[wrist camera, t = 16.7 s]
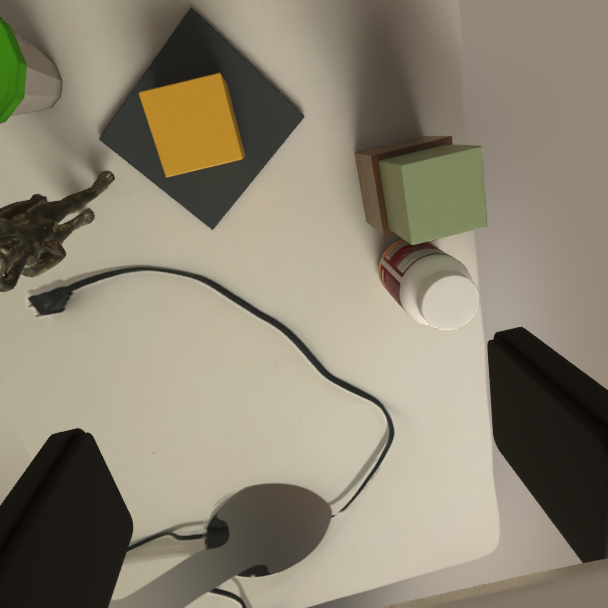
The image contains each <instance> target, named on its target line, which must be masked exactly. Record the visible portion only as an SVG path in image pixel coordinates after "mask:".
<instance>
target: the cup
mask: <svg viewBox="0 0 608 608" xmlns="http://www.w3.org/2000/svg"><path fill="white" fill-rule="evenodd" d="M61 89H62V79H61V77H60V74H59V72H58V69H57V67H56V65H55V64H54V63H53V62H52V61H51V60H50V59H49V58H48V57H47V56H46V55H45V54H44V53H42V52H41V51H40V50H38V49H37V48H36V47H34V46H33V45H32V44H30V43H29V42H28V41H26V40H25V39H23V38H22V37H21V36H19V35H18V34H17V33H15V32H14V31H13V30H12V28H11V27H10V26H9V25H8V24H7V23H6V22H5V21H4V20H3V19H2V18H1V17H0V123H3V122H6V120H7V119H8V118H9V117H10V116H14V115H19V114H24V113H29V112H35V111H39V110H43V109H47V108H51V107H52V106H53V105H54V104H55V103H56V102H57V100H58V99H59V98H60V97H61Z"/></svg>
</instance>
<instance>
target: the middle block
mask: <svg viewBox="0 0 608 608" xmlns="http://www.w3.org/2000/svg"><path fill="white" fill-rule="evenodd" d="M482 158H483V157H482V146H470V145H442V146H438V147H434V148H430V149H425V150H421V151H417V152H413V153H409V154H405V155H401V156H396V157H392V158H388V159H384V160H380V161H379V168H380V175H381V181H382V188H383V194H384V201H385V207H386V214H387V220H388V227H389V229H390V230H391V231H393V232H394V233H396V234H397V235H398V236H400V237H401V238H402V239H404V240H405V241H407V242H408V243H409V244H411V245H415V244H419V243H423V242H427V241H431V240H435V239H440V238H444V237H448V236H452V235H456V234H460V233H464V232H468V231H473V230H477V229H480V228H485V227H487V214H486V200H485V185H484V173H483V172H484V171H483V159H482Z"/></svg>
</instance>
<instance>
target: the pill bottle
mask: <svg viewBox="0 0 608 608" xmlns="http://www.w3.org/2000/svg"><path fill="white" fill-rule="evenodd" d="M379 277H380V280H381V282H382V284H383V286H384V287H385V289H386V290H387V291H388V292H389V293H390V294H391V296H392V297H393V298H394V299H395V300H396V301H397V303H398V304H399V305H400V306H401V307H402V308H403V309H404V311H405V312H406V313H407V314H408V315H409V316H410V317H411V318H412V319H414V320H415V321H417V322H419V323H422V324H425V325H431V326H432V327H434V328H436V329H440V330H453V329H457V328H459V327H461V326H463V325H465V324H466V323H467V322H469V321H470V320H471V319H472V317H473V316H474V315H475V313H476V311H477V309H478V306H479V292H478V289H477V287H476V285H475V284H474V283H473V281H472V280H471V276H470V274H469V272H468V270H467V268H466V267H465V266H464V265H463V264H462V263H461V262H460V261H458V260H457V259H455V258H453V257H452V256H450V255H448V254H447V253H445V252H443V251H442V250H440V249H438V248H437V247H435V246H433V245H432V244H430V243H428V242H423V243H419V244H415V245H411V244H409V243H408V242H407V241H405V240H404V239H401V240H399V241H397V242H395V243H393V244H392V245H391V246H389V247H388V248H387V250H386V251H385V252H384V254H383V256H382V258H381V260H380V264H379Z"/></svg>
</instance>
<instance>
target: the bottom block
mask: <svg viewBox="0 0 608 608" xmlns="http://www.w3.org/2000/svg"><path fill="white" fill-rule="evenodd" d="M442 145H453V143H452V136H423V137H419V138H415V139H411V140H406V141H402V142H398V143H394V144H390V145H386V146H382V147H377V148H373V149H369V150H365V151H361V152H357V153H355V158H356V164H357V169H358V175H359V181H360V187H361V193H362V199H363V204H364V210H365V216H366V222H367V223H368V224H370V225H371V226H372V227H373V228H375V229H376V230H377V231H378V232H380V233H381V234H382V235H383V236H386V235H390V234H394V232H393V231H391V230H390V229H389V227H388V220H387V214H386V207H385V201H384V194H383V188H382V181H381V175H380V168H379V161H380V160H384V159H388V158H392V157H396V156H401V155H405V154H409V153H413V152H417V151H421V150H425V149H430V148H434V147H438V146H442Z"/></svg>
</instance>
